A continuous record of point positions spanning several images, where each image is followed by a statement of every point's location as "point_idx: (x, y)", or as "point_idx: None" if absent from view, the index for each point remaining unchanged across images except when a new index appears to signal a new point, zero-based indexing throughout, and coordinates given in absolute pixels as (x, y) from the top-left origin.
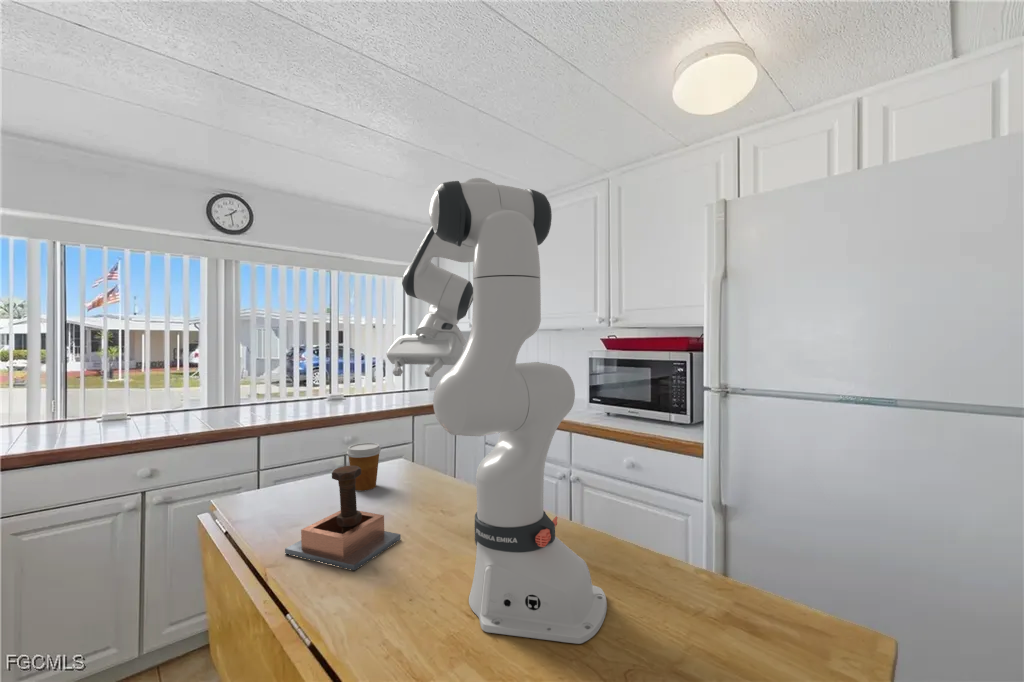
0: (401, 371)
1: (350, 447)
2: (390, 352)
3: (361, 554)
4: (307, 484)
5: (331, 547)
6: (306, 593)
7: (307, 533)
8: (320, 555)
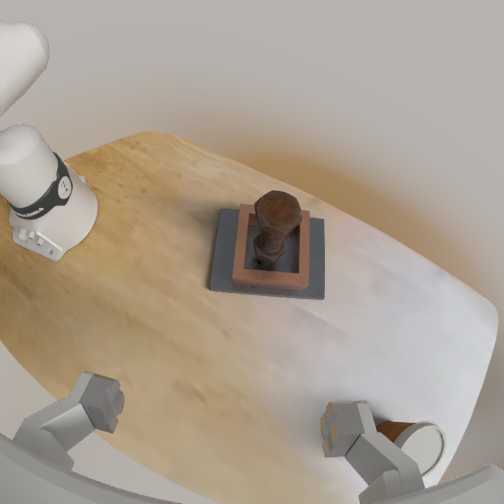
0: (326, 441)
1: (442, 438)
2: (491, 487)
3: (227, 229)
4: (463, 402)
5: None
6: (240, 173)
7: None
8: None
